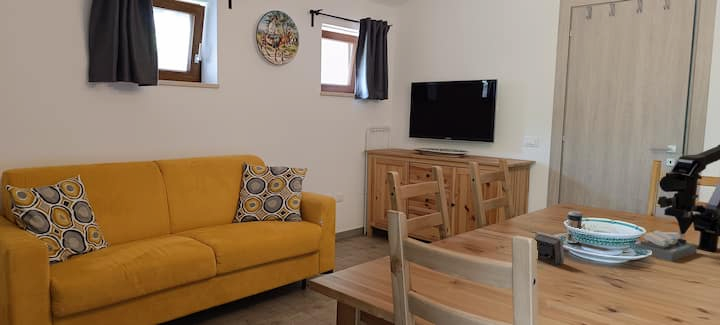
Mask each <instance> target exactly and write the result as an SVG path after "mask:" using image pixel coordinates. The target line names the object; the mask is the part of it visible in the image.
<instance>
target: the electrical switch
mask: <svg viewBox="0 0 720 325" xmlns="http://www.w3.org/2000/svg"><path fill="white" fill-rule="evenodd" d="M533 239H535V240H536V241H537V250H538V260H537V261H540V262H544V263H547V264H551V265H554V266H557V265H559V264H560V265H563V264H564V263H565V253H564V240H563V238H562V237H559V236H555V235H553V234H547V233H544V232H540V231H538V232H535V237H533V238H532V240H533Z"/></svg>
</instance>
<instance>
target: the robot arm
mask: <svg viewBox="0 0 720 325" xmlns="http://www.w3.org/2000/svg"><path fill="white" fill-rule="evenodd" d="M717 161H720V144H717V146H713V147H712V148H710V149H708V150H705V151H702V152H700V153H697V154H687V155H682V156H680V157H678V159H677V160H676V162H675V163H674V165H673V167H672V168H671V169H670V171H669V172H666V173H665V175H664V176H663V177H662V178H661V179H660V180H659V187H660V189H661V191H663V192H665V193H673V192H675V193H674V194H673V196H672V197H668V198H667V196H665V195H664V196H659V197H658V199H657V202H656V204H657V205H659V208H660V209H664V208H665V209H664V212H663V213H664V216H669V217H674V218H675V219H676V221H677V224H678V228H679V232H681V234H684V235H685V234H686V233H687V231H688V230H689V229H690V227H691V225H693V229H694V231H695V232H699V238H698V244H697V250H699V249H700V250H703V251H707V252H712V253H716V252H719V251H720V247H718V245H719V237H720V180H719V181H718V182H717V184H716V187H715V189H714V191H713V192H712V195H711V197H710V198H709V200H708V202H707V204H706V205H705V206H704V205H702V204H701V205H700V204H697V203H696V200H697V199H698V198H699V194H697V192H698V191H697V190H698V183H699V182H698V181H699V180H701V179H703V177H702V176H701V172H703V171H705V170H706V169H707V166H708V165H710V164H713V163H715V162H717ZM694 212H695V213H694Z"/></svg>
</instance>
